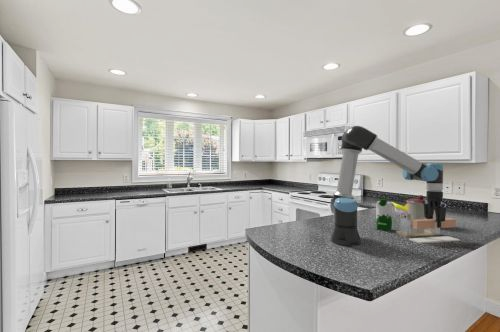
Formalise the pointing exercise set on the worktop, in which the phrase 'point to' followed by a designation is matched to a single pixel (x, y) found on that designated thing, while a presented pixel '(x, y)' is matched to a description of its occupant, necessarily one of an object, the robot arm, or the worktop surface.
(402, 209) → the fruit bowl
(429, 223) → the rail
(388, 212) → the milk carton
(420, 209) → the canister
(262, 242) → the worktop surface
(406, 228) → the hook stand
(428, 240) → the mat
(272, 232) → the worktop surface
